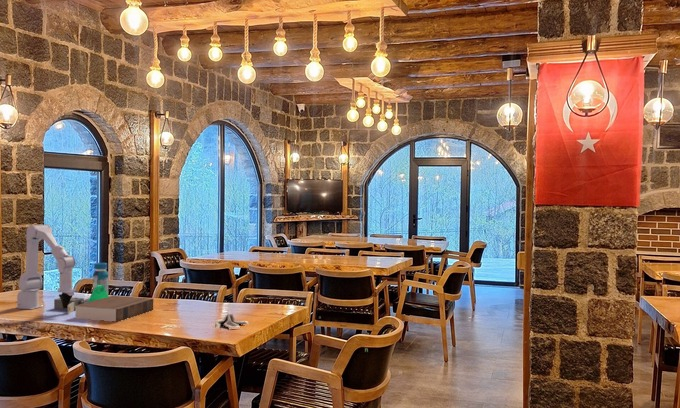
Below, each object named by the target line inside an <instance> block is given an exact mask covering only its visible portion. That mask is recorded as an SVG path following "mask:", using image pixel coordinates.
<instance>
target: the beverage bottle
mask: <svg viewBox="0 0 680 408" xmlns="http://www.w3.org/2000/svg"><path fill="white" fill-rule="evenodd" d="M93 268H94V272H93V274H92V291H93V290H94V288H95V287H96V286H97V285H102V286H104V287H105V291H106V292H107V294H108V295H109V281H110V279H109V272H108V270H107V269H108V263H107V262H96V263H94V265H93Z"/></svg>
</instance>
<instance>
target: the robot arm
mask: <svg viewBox="0 0 680 408" xmlns="http://www.w3.org/2000/svg"><path fill="white" fill-rule="evenodd" d="M25 234H26V237H25V240H26V252H25V253H26V255H25V257H26V258H25V272H23V273H22V274H21V275H20V277H19V281H18V289H19V290H20V291H18V293H17V297H16V299H17V300H16V303H17V305H16V306H15V308H16V309H20V310H21V309H22V310H34V309H38V308H42V307H43V305H40V304H39V291H40V290H41V289H42V286H43V280H42V279H43V278H42V274H41V273H40V272H38V266H39V265H38V264H39V243H40V241H42V240H44V242H45V243H46V244H47V245H48V246H49V247H50V249H51V250H50V252H51V255H52V256H53V257H54V259H55V260H56V266H57V268H58V269H57V270H58V273H59V283H58V284H59V287H58V288H57V292H58V293H61V294H58V297H59V298H60V299H61V301H62V305H63V308H64V309H65V308H68V305H69V303H70V300H71V298H73V296H75V291H76V290H75V288H73V268H74V267H75V265H76V259H75V257H74V256H72V255H70V254H69V253H68V252H67V251H66V250H65V248H64V246H63V245H59V244H58V242H57V241H56V239H55V237H54V235H53V229H52V227H51V226H50V224H35V225H34V224H33V225H32V224H31V225H29V226H28V227H27V228H26V233H25Z"/></svg>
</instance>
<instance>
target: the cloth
mask: <svg viewBox="0 0 680 408" xmlns="http://www.w3.org/2000/svg"><path fill="white" fill-rule="evenodd" d="M213 322H216V323H212V324H211V325H214V324H215V328H217V329H218V328H220V329H221V327H222V326H225V327H224V328H227V327H228V328H227V329H229V328H231V329H232V328H240V327H241V325H238V324H248V325H249V321H248V320H235V317H234V314H233V313H231V312H229V313H228V314H227V315H225V316H224V318H221V319H220V318H219V319H216V320H214V321H213ZM221 325H222V326H221ZM233 326H235V327H233Z"/></svg>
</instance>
